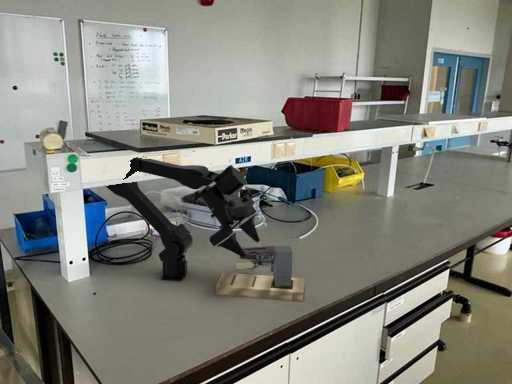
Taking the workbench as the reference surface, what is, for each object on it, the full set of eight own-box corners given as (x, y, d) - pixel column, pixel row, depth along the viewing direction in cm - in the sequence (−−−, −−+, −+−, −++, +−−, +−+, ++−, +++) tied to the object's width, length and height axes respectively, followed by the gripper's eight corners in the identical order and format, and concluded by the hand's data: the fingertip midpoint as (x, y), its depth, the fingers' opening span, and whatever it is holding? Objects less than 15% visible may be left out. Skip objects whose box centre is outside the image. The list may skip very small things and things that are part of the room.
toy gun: (290, 275, 133) (293, 252, 147) (289, 260, 131) (291, 238, 145) (235, 277, 136) (242, 255, 150) (233, 262, 134) (240, 241, 148)
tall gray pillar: (274, 296, 118) (276, 252, 115) (272, 288, 122) (274, 246, 119) (290, 295, 118) (292, 251, 115) (288, 288, 123) (289, 245, 119)
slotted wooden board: (216, 294, 118) (216, 285, 118) (222, 280, 127) (222, 271, 126) (303, 301, 115) (303, 292, 115) (303, 286, 124) (304, 277, 123)
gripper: (220, 202, 108) (257, 252, 108) (252, 179, 124) (284, 222, 124) (194, 222, 114) (229, 269, 114) (227, 198, 130) (258, 239, 130)
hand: (251, 248), depth 120 cm, fingers open, 9 cm apart
